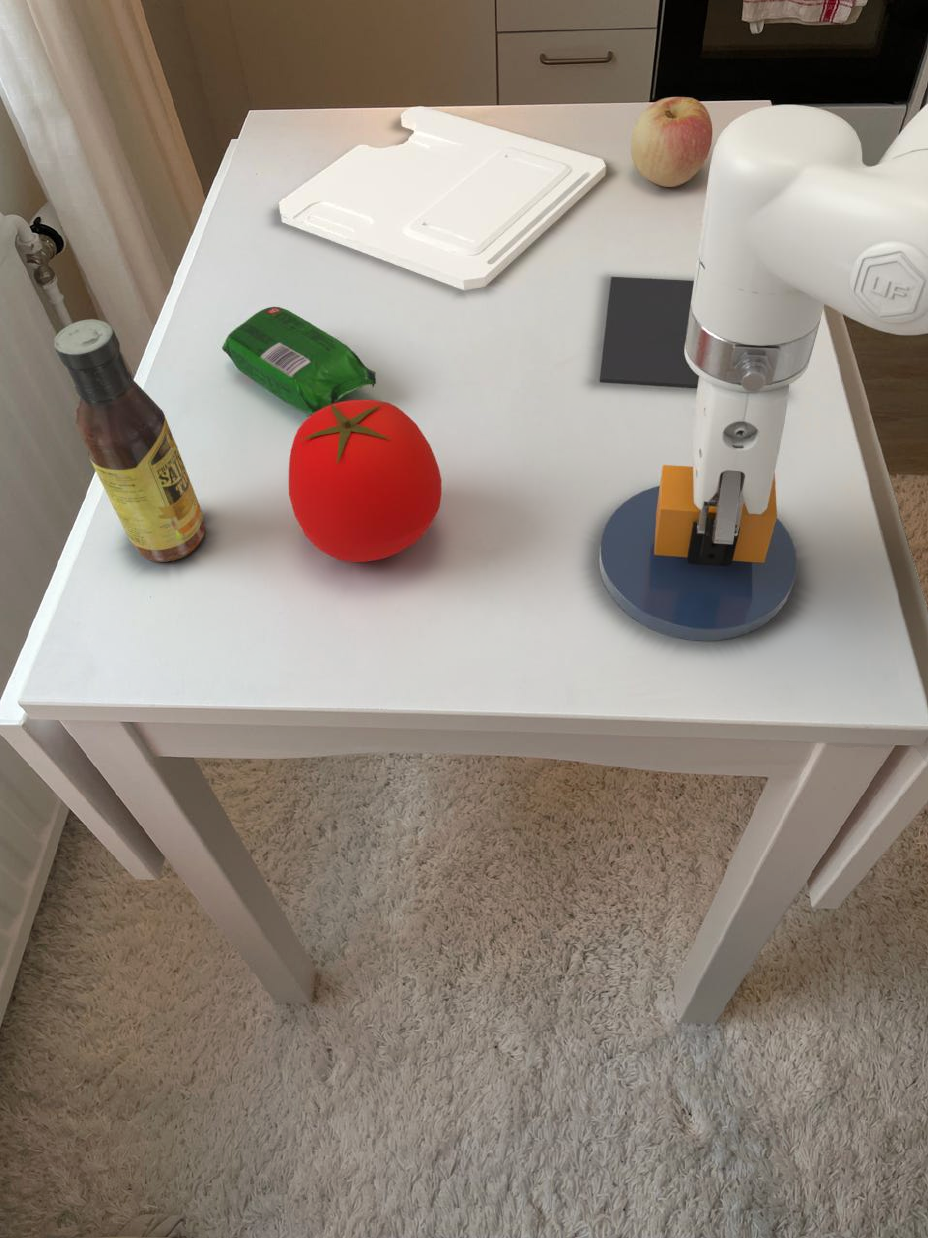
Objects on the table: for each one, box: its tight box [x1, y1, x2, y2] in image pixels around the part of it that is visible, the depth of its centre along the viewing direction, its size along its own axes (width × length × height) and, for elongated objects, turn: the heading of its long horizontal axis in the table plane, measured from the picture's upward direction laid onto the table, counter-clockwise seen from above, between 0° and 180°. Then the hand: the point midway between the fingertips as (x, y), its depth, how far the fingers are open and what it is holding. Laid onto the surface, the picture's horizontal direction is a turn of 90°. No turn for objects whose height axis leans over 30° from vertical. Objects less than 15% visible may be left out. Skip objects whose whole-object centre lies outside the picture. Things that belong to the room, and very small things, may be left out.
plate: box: [598, 485, 798, 642], centre depth 75 cm, size 15×15×2 cm
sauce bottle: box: [53, 318, 206, 563], centre depth 72 cm, size 6×6×20 cm
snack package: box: [221, 306, 377, 415], centre depth 88 cm, size 7×16×5 cm, turn 46°
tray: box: [278, 105, 607, 291], centre depth 109 cm, size 28×28×2 cm
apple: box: [630, 96, 713, 188], centre depth 106 cm, size 9×9×8 cm
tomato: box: [288, 399, 442, 563], centre depth 74 cm, size 12×12×13 cm
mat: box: [599, 276, 699, 389], centre depth 92 cm, size 16×16×1 cm
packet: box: [654, 464, 778, 563], centre depth 70 cm, size 8×4×5 cm, turn 81°
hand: (709, 534), depth 72 cm, fingers closed on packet, 4 cm apart
